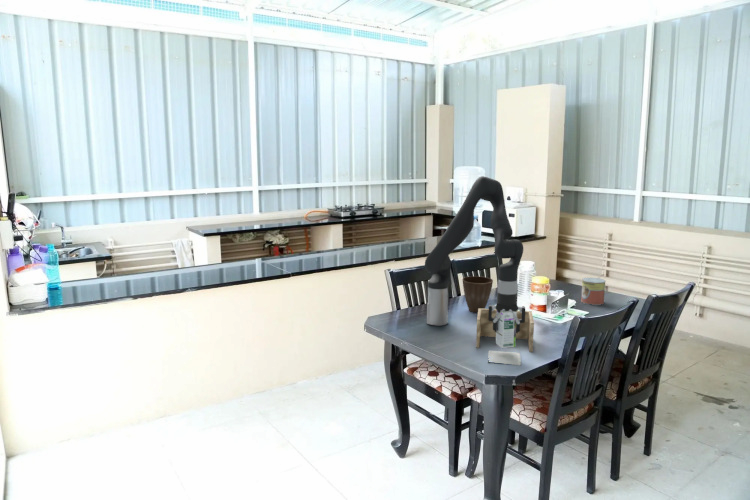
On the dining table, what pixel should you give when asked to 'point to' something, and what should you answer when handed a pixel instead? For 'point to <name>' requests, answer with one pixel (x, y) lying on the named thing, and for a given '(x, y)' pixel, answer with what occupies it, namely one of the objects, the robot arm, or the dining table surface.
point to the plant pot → (477, 292)
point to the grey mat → (505, 357)
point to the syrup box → (506, 330)
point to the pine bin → (487, 330)
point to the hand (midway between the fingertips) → (505, 331)
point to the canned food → (593, 291)
